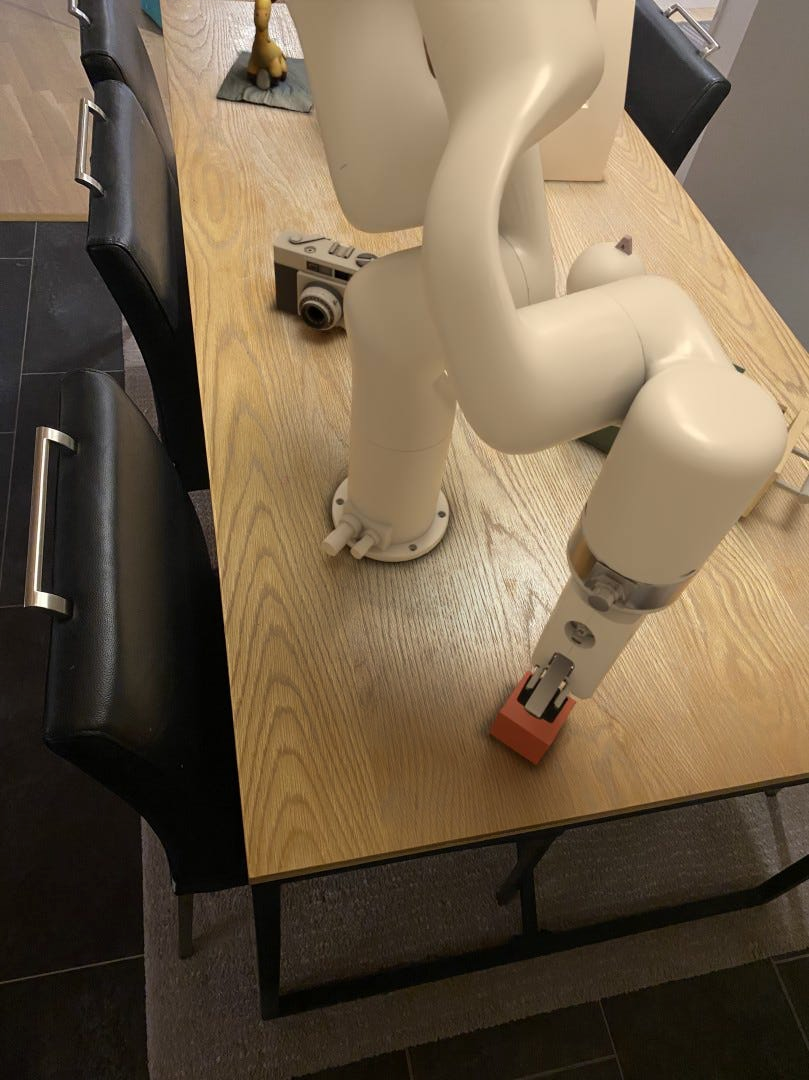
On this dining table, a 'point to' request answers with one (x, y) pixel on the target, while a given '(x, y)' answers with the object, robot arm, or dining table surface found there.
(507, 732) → the block
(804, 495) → the drawer
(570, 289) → the ornament
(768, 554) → the dining table surface
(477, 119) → the robot arm
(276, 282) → the camera
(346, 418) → the dining table surface
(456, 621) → the dining table surface
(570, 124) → the beige slotted block
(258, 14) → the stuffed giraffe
